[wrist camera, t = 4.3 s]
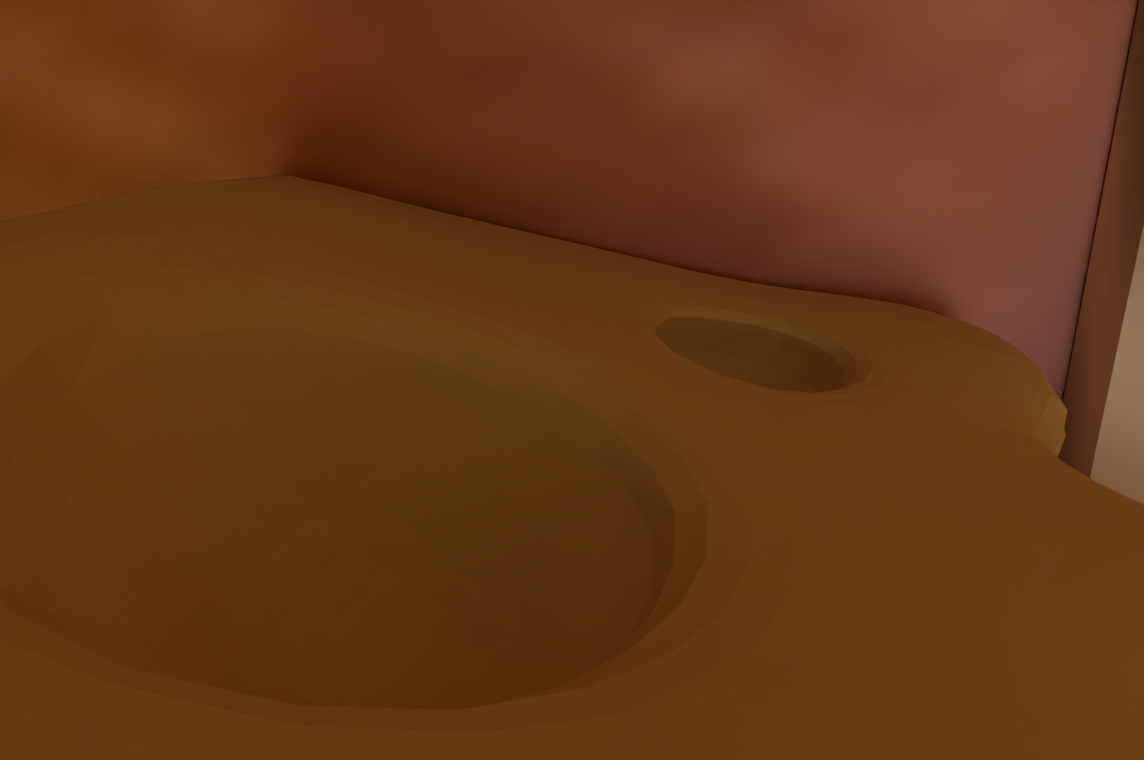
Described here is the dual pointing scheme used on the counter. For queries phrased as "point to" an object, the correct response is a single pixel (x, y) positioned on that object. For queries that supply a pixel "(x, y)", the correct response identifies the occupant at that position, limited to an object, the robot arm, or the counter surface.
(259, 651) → the cheese
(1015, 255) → the counter surface
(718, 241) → the counter surface
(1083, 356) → the wooden square frame
